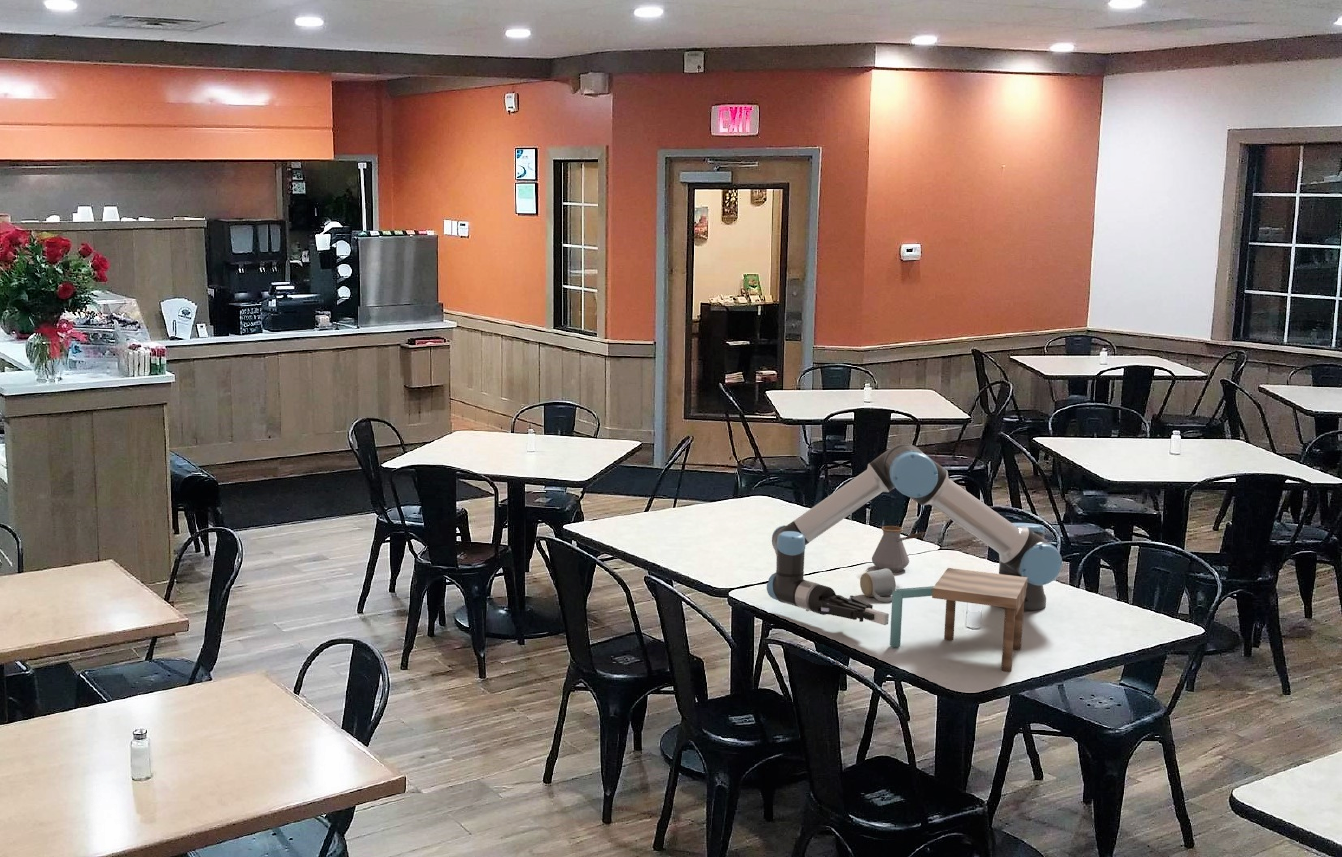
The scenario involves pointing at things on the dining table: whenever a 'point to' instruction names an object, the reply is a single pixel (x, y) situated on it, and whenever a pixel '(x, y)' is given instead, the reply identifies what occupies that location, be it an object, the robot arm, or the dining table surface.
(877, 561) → the coffee pot
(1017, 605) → the stool
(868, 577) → the ceramic mug
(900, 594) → the folding leg
